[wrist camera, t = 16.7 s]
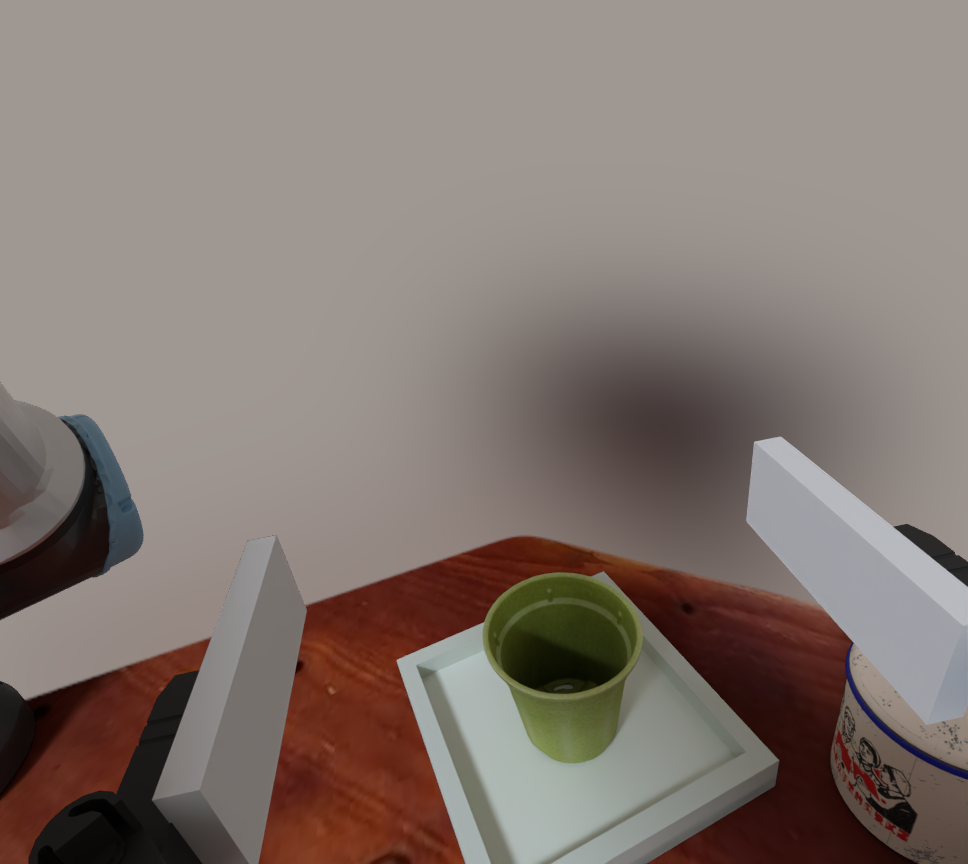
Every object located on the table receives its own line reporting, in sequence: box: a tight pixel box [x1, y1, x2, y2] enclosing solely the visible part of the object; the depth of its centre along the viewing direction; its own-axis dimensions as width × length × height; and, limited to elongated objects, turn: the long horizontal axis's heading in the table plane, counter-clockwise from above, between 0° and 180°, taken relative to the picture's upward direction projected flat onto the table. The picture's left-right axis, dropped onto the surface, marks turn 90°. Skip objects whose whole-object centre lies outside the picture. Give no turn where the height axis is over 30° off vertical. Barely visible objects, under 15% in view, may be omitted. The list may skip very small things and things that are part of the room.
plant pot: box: [482, 573, 643, 763], centre depth 36 cm, size 9×9×9 cm
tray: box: [397, 571, 779, 864], centre depth 38 cm, size 18×18×2 cm
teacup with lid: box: [831, 642, 968, 864], centre depth 28 cm, size 12×9×12 cm
